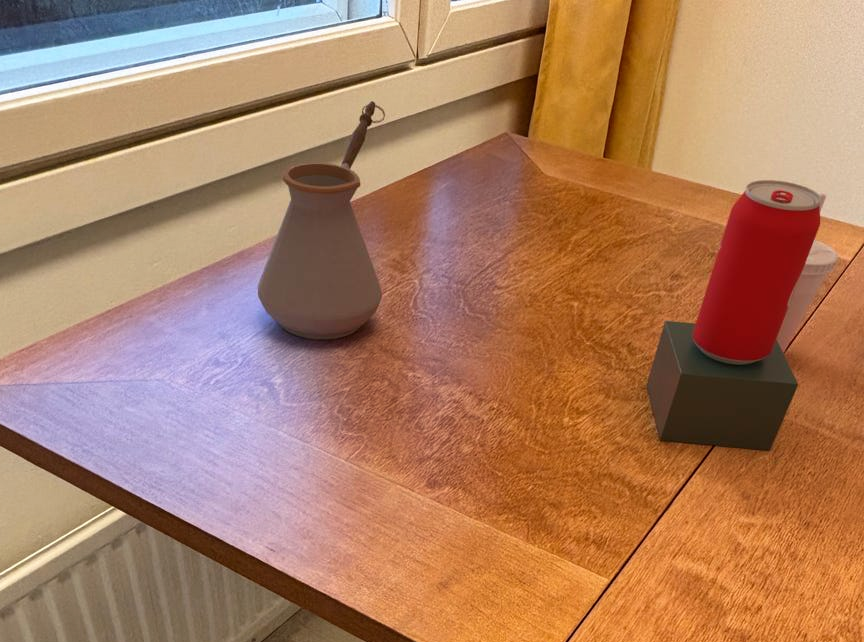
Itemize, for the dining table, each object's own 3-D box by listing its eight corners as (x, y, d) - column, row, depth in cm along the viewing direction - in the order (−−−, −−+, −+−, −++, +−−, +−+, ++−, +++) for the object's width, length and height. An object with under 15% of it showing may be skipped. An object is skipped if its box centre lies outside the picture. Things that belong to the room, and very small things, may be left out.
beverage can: (773, 344, 73) (833, 188, 64) (762, 377, 69) (825, 215, 60) (696, 325, 74) (746, 171, 66) (681, 357, 70) (732, 196, 62)
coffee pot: (359, 359, 79) (366, 179, 69) (239, 336, 81) (228, 157, 70) (420, 268, 94) (433, 108, 83) (317, 249, 96) (317, 90, 85)
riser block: (747, 394, 79) (772, 330, 75) (770, 450, 72) (798, 384, 68) (646, 385, 79) (665, 320, 75) (659, 440, 73) (681, 373, 68)
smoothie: (804, 349, 85) (869, 196, 76) (785, 375, 82) (850, 217, 72) (739, 329, 88) (794, 177, 78) (718, 353, 84) (772, 197, 74)
